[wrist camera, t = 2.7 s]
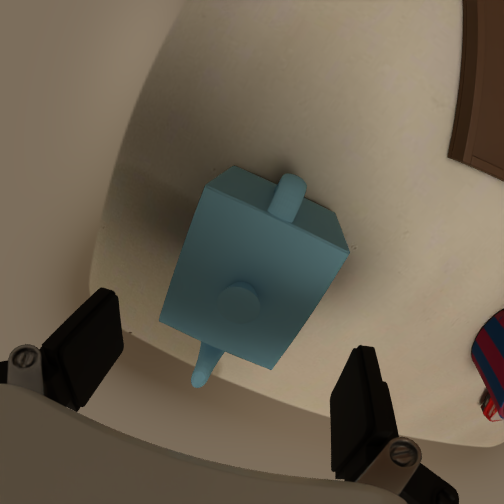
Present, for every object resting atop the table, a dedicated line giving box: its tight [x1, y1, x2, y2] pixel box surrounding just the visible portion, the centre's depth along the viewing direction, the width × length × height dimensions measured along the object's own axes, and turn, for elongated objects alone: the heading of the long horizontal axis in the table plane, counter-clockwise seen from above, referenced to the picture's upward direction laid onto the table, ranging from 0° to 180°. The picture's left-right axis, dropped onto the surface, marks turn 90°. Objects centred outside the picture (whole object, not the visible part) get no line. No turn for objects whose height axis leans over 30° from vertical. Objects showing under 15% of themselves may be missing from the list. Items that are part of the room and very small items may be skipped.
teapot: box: [159, 166, 350, 388], centre depth 16 cm, size 12×6×8 cm, turn 157°
